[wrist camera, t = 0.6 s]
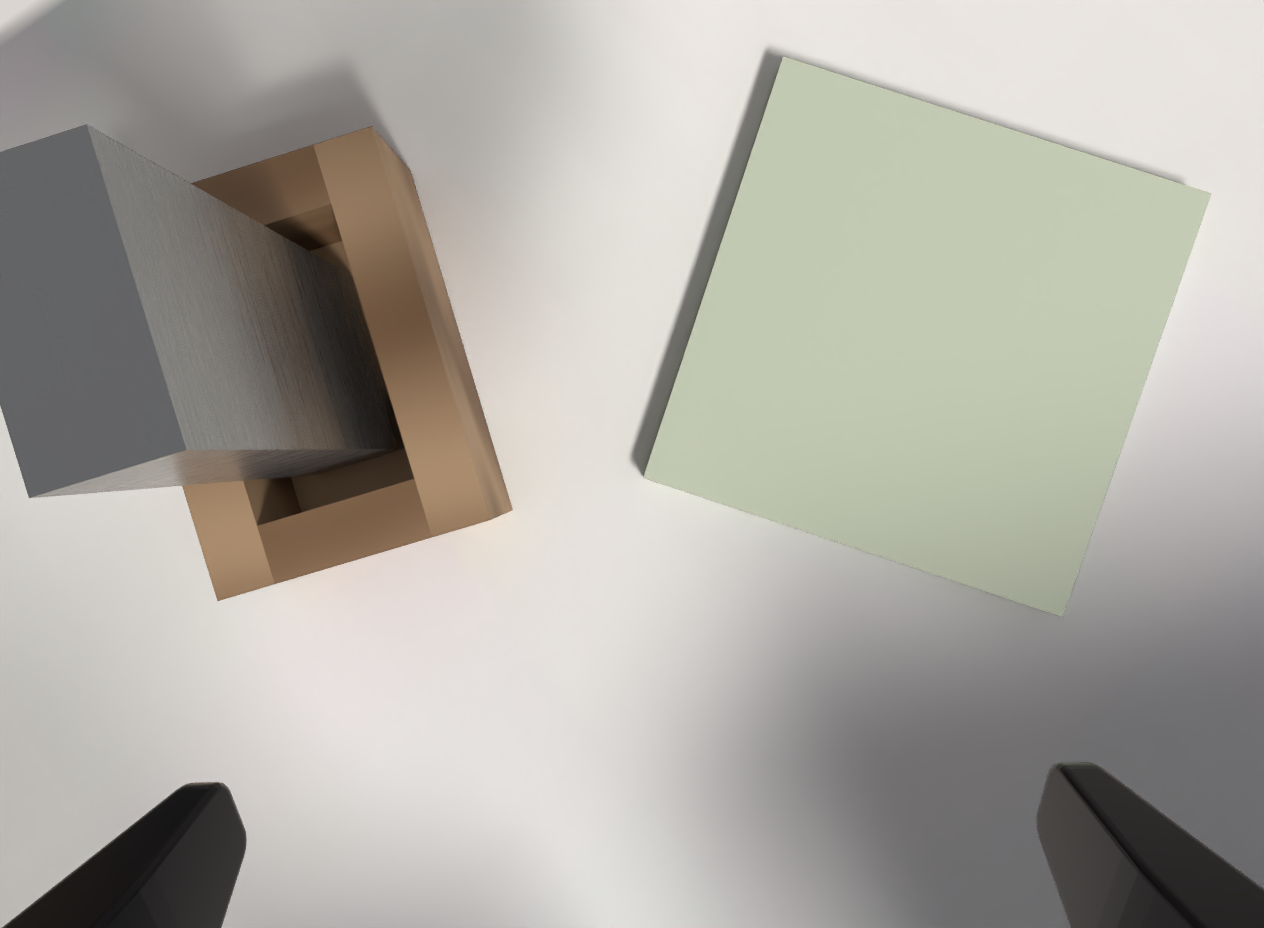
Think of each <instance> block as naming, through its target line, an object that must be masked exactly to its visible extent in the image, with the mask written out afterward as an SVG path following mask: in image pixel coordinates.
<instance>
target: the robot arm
mask: <svg viewBox="0 0 1264 928" xmlns="http://www.w3.org/2000/svg"><path fill="white" fill-rule="evenodd" d="M1037 830H1038V834H1039V838H1040V841H1041V844H1042V847H1043V850H1044V853H1045V856H1046V859H1047V861H1048V864H1049V867H1050V870H1051V873H1052V876H1053V879H1054V881H1055V884H1056V887H1057V890H1058V893H1059V896H1060V899H1061V901H1062V904H1063V907H1064V910H1065V913H1066V916H1067V919H1068V921H1069V924H1070V927H1071V928H1264V889H1263V888H1261V887H1260V886H1259V885H1257V884H1256V883H1255V882H1253V881H1252V880H1251V879H1249V878H1248V877H1247V876H1245V875H1244V874H1243V873H1241V872H1240V871H1239V870H1237V869H1236V868H1235V867H1233V866H1232V865H1231V864H1229V863H1228V862H1227V861H1225V860H1224V859H1223V858H1221V857H1220V856H1219V855H1217V854H1216V853H1215V852H1213V851H1212V850H1211V849H1209V848H1208V847H1207V846H1205V845H1204V844H1203V843H1201V842H1200V841H1199V840H1197V839H1196V838H1195V837H1193V836H1192V835H1191V834H1189V833H1188V832H1187V831H1185V830H1184V829H1183V828H1181V827H1180V826H1179V825H1177V824H1176V823H1175V822H1173V821H1172V820H1171V819H1169V818H1168V817H1167V816H1165V815H1164V814H1163V813H1161V812H1160V811H1159V810H1157V809H1156V808H1155V807H1153V806H1152V805H1151V804H1149V803H1148V802H1147V801H1145V800H1144V799H1143V798H1141V797H1140V796H1139V795H1137V794H1136V793H1135V792H1133V791H1132V790H1131V789H1129V788H1128V787H1127V786H1125V785H1124V784H1123V783H1121V782H1120V781H1119V780H1117V779H1116V778H1115V777H1113V776H1112V775H1111V774H1109V773H1108V772H1107V771H1105V770H1104V769H1102V768H1101V767H1099V766H1097V765H1095V764H1093V763H1089V762H1071V763H1056V764H1054V765H1053V766H1052V767H1051V768H1050V770H1049V772H1048V776H1047V779H1046V783H1045V787H1044V790H1043V794H1042V797H1041V801H1040V805H1039V808H1038V812H1037ZM245 850H246V831H245V828H244V825H243V823H242V820H241V818H240V815H239V813H238V810H237V807H236V805H235V802H234V800H233V797H232V795H231V792H230V790H229V788H228V787H227V786H226V785H224V784H223V783H219V782H207V783H189V784H186V785H184V786H182V787H180V788H179V789H177V790H176V791H175V792H173V793H172V794H171V795H170V796H168V797H167V798H166V799H164V800H163V801H162V802H161V803H159V804H158V805H157V806H156V807H154V808H153V809H152V810H151V811H149V812H148V813H147V814H145V815H144V816H143V817H142V818H140V819H139V820H138V821H137V822H135V823H134V824H133V825H132V826H130V827H129V828H128V829H126V830H125V831H124V832H123V833H121V834H120V835H119V836H118V837H116V838H115V839H114V840H113V841H111V842H110V843H109V844H107V845H106V846H105V847H104V848H102V849H101V850H100V851H99V852H97V853H96V854H95V855H93V856H92V857H91V858H90V859H88V860H87V861H86V862H85V863H83V864H82V865H81V866H80V867H78V868H77V869H76V870H74V871H73V872H72V873H71V874H69V875H68V876H67V877H66V878H64V879H63V880H62V881H61V882H59V883H58V884H57V885H55V886H54V887H53V888H52V889H50V890H49V891H48V892H47V893H45V894H44V895H43V896H42V897H40V898H39V899H38V900H36V901H35V902H34V903H33V904H31V905H30V906H29V907H28V908H26V909H25V910H24V911H23V912H21V913H20V914H19V915H17V916H16V917H15V918H14V919H12V920H11V921H10V922H9V923H7V924H6V925H5V926H3V927H2V928H221V927H222V924H223V921H224V918H225V915H226V911H227V908H228V905H229V902H230V899H231V896H232V893H233V889H234V886H235V883H236V880H237V877H238V874H239V871H240V867H241V864H242V861H243V858H244V854H245Z"/></svg>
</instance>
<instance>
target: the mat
mask: <svg viewBox="0 0 1264 928" xmlns="http://www.w3.org/2000/svg"><path fill="white" fill-rule="evenodd" d="M1210 196H1211V193H1208V192H1205V191H1202V190H1199V189H1196V188H1193V187H1190V186H1186V185H1183V184H1180V183H1177V182H1174V181H1171V180H1168V179H1165V178H1162V177H1158V176H1155V175H1152V174H1149V173H1146V172H1143V171H1140V170H1137V169H1133V168H1130V167H1127V166H1124V165H1121V164H1118V163H1115V162H1112V161H1108V160H1105V159H1102V158H1099V157H1096V156H1093V155H1090V154H1087V153H1084V152H1080V151H1077V150H1074V149H1071V148H1068V147H1065V146H1062V145H1059V144H1055V143H1052V142H1049V141H1046V140H1043V139H1040V138H1037V137H1034V136H1030V135H1027V134H1024V133H1021V132H1018V131H1015V130H1012V129H1009V128H1006V127H1002V126H999V125H996V124H993V123H990V122H987V121H984V120H981V119H977V118H974V117H971V116H968V115H965V114H962V113H959V112H956V111H952V110H949V109H946V108H943V107H940V106H937V105H934V104H931V103H928V102H924V101H921V100H918V99H915V98H912V97H909V96H906V95H903V94H899V93H896V92H893V91H890V90H887V89H884V88H881V87H878V86H875V85H871V84H868V83H865V82H862V81H859V80H856V79H853V78H850V77H846V76H843V75H840V74H837V73H834V72H831V71H828V70H825V69H821V68H818V67H815V66H812V65H809V64H806V63H803V62H800V61H797V60H793V59H790V58H787V57H784V56H783V58H782V61H781V64H780V67H779V70H778V73H777V77H776V80H775V83H774V86H773V89H772V92H771V95H770V98H769V101H768V104H767V107H766V110H765V113H764V116H763V119H762V122H761V125H760V128H759V131H758V134H757V137H756V140H755V143H754V146H753V149H752V152H751V155H750V158H749V161H748V164H747V167H746V170H745V173H744V176H743V179H742V182H741V185H740V188H739V191H738V194H737V197H736V200H735V203H734V206H733V209H732V212H731V215H730V218H729V221H728V224H727V227H726V230H725V233H724V236H723V239H722V242H721V245H720V248H719V251H718V254H717V257H716V260H715V263H714V266H713V269H712V272H711V275H710V278H709V281H708V284H707V287H706V290H705V293H704V296H703V299H702V302H701V305H700V308H699V311H698V314H697V317H696V320H695V323H694V326H693V329H692V332H691V335H690V338H689V341H688V344H687V347H686V350H685V353H684V356H683V359H682V362H681V365H680V368H679V371H678V374H677V377H676V380H675V383H674V386H673V389H672V392H671V395H670V398H669V401H668V404H667V407H666V410H665V413H664V416H663V419H662V422H661V425H660V428H659V431H658V434H657V437H656V440H655V443H654V446H653V449H652V453H651V456H650V459H649V462H648V465H647V468H646V471H645V474H644V477H643V478H645V479H648V480H651V481H654V482H657V483H660V484H663V485H666V486H669V487H672V488H675V489H678V490H681V491H684V492H687V493H690V494H693V495H696V496H699V497H702V498H705V499H708V500H711V501H714V502H717V503H720V504H723V505H726V506H729V507H732V508H735V509H738V510H741V511H744V512H747V513H750V514H753V515H756V516H759V517H762V518H765V519H768V520H771V521H774V522H777V523H780V524H783V525H786V526H789V527H792V528H795V529H798V530H801V531H804V532H807V533H810V534H813V535H816V536H819V537H822V538H825V539H828V540H831V541H834V542H837V543H840V544H843V545H846V546H849V547H852V548H855V549H858V550H861V551H865V552H868V553H871V554H874V555H877V556H880V557H883V558H886V559H889V560H892V561H895V562H898V563H901V564H904V565H907V566H910V567H913V568H916V569H919V570H922V571H925V572H928V573H931V574H934V575H937V576H940V577H943V578H946V579H949V580H952V581H955V582H958V583H961V584H964V585H967V586H970V587H973V588H976V589H979V590H982V591H985V592H988V593H991V594H994V595H997V596H1000V597H1003V598H1006V599H1009V600H1012V601H1015V602H1018V603H1021V604H1024V605H1027V606H1030V607H1033V608H1036V609H1039V610H1042V611H1045V612H1048V613H1051V614H1054V615H1057V616H1060V617H1063V615H1064V612H1065V609H1066V606H1067V603H1068V601H1069V598H1070V595H1071V592H1072V589H1073V586H1074V584H1075V581H1076V578H1077V575H1078V572H1079V569H1080V566H1081V564H1082V561H1083V558H1084V555H1085V552H1086V549H1087V547H1088V544H1089V541H1090V538H1091V535H1092V532H1093V529H1094V527H1095V524H1096V521H1097V518H1098V515H1099V512H1100V510H1101V507H1102V504H1103V501H1104V498H1105V495H1106V492H1107V490H1108V487H1109V484H1110V481H1111V478H1112V475H1113V472H1114V470H1115V467H1116V464H1117V461H1118V458H1119V455H1120V453H1121V450H1122V447H1123V444H1124V441H1125V438H1126V435H1127V433H1128V430H1129V427H1130V424H1131V421H1132V418H1133V416H1134V413H1135V410H1136V407H1137V404H1138V401H1139V398H1140V396H1141V393H1142V390H1143V387H1144V384H1145V381H1146V379H1147V376H1148V373H1149V370H1150V367H1151V364H1152V361H1153V359H1154V356H1155V353H1156V350H1157V347H1158V344H1159V341H1160V339H1161V336H1162V333H1163V330H1164V327H1165V324H1166V322H1167V319H1168V316H1169V313H1170V310H1171V307H1172V304H1173V302H1174V299H1175V296H1176V293H1177V290H1178V287H1179V285H1180V282H1181V279H1182V276H1183V273H1184V270H1185V267H1186V265H1187V262H1188V259H1189V256H1190V253H1191V250H1192V248H1193V245H1194V242H1195V239H1196V236H1197V233H1198V230H1199V228H1200V225H1201V222H1202V219H1203V216H1204V213H1205V210H1206V208H1207V205H1208V202H1209V199H1210Z"/></svg>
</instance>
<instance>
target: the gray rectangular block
mask: <svg viewBox="0 0 1264 928" xmlns="http://www.w3.org/2000/svg"><path fill="white" fill-rule="evenodd" d="M0 405H1V409H2V412H3V415H4V418H5V422H6V425H7V428H8V431H9V435H10V438H11V441H12V444H13V447H14V451H15V454H16V457H17V460H18V464H19V467H20V470H21V473H22V477H23V480H24V483H25V486H26V489H27V493H28V496H29V498H36V497H48V496H60V495H73V494H85V493H97V492H110V491H122V490H134V489H147V488H159V487H171V486H183V485H196V484H208V483H220V482H233V481H245V480H257V479H270V478H282V477H294V476H307V475H319V474H323V473H326V472H329V471H333V470H336V469H339V468H343V467H346V466H349V465H352V464H356V463H359V462H362V461H366V460H369V459H372V458H376V457H379V456H382V455H386V454H389V453H392V452H396V451H399V450H402V449H404V445H403V442H402V439H401V435H400V432H399V429H398V425H397V422H396V419H395V415H394V412H393V409H392V406H391V402H390V399H389V396H388V392H387V389H386V386H385V382H384V379H383V376H382V373H381V369H380V366H379V363H378V359H377V356H376V353H375V349H374V346H373V343H372V340H371V336H370V333H369V330H368V326H367V323H366V320H365V316H364V313H363V310H362V306H361V303H360V300H359V297H358V293H357V290H356V287H355V283H354V280H353V277H352V275H350V274H348V273H346V272H345V271H343V270H341V269H339V268H338V267H336V266H334V265H332V264H331V263H329V262H327V261H325V260H324V259H322V258H320V257H318V256H317V255H315V254H313V253H311V252H310V251H308V250H306V249H304V248H303V247H301V246H299V245H297V244H296V243H294V242H292V241H290V240H289V239H287V238H285V237H283V236H282V235H280V234H278V233H276V232H275V231H273V230H271V229H269V228H268V227H266V226H264V225H262V224H261V223H259V222H257V221H255V220H254V219H252V218H250V217H248V216H246V215H245V214H243V213H241V212H239V211H238V210H236V209H234V208H232V207H231V206H229V205H227V204H225V203H224V202H222V201H220V200H218V199H217V198H215V197H213V196H211V195H210V194H208V193H206V192H204V191H203V190H201V189H199V188H197V187H196V186H194V185H192V184H190V183H189V182H187V181H185V180H183V179H182V178H180V177H178V176H176V175H175V174H173V173H171V172H169V171H168V170H166V169H164V168H162V167H161V166H159V165H157V164H155V163H154V162H152V161H150V160H148V159H147V158H145V157H143V156H141V155H140V154H138V153H136V152H134V151H133V150H131V149H129V148H127V147H126V146H124V145H122V144H120V143H118V142H117V141H115V140H113V139H111V138H110V137H108V136H106V135H104V134H103V133H101V132H99V131H97V130H96V129H94V128H92V127H90V126H89V125H84V126H80V127H77V128H74V129H71V130H68V131H65V132H62V133H59V134H56V135H52V136H49V137H46V138H43V139H40V140H37V141H34V142H31V143H27V144H24V145H21V146H18V147H15V148H12V149H9V150H6V151H3V152H0Z"/></svg>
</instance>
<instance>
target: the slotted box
mask: <svg viewBox="0 0 1264 928" xmlns="http://www.w3.org/2000/svg"><path fill="white" fill-rule="evenodd" d="M191 184H192V185H194V186H196V187H197V188H199V189H201V190H203V191H204V192H206V193H208V194H210V195H211V196H213V197H215V198H217V199H218V200H220V201H222V202H224V203H225V204H227V205H229V206H231V207H232V208H234V209H236V210H238V211H239V212H241V213H243V214H245V215H246V216H248V217H250V218H252V219H254V220H255V221H257V222H259V223H261V224H262V225H264V226H266V227H268V228H269V229H271V230H273V231H275V232H276V233H278V234H280V235H282V236H283V237H285V238H287V239H289V240H290V241H292V242H294V243H296V244H297V245H299V246H301V247H303V248H304V249H306V250H308V251H310V252H311V253H313V254H315V255H317V256H318V257H320V258H322V259H324V260H325V261H327V262H329V263H331V264H332V265H334V266H336V267H338V268H339V269H341V270H343V271H345V272H346V273H348V274H350V275H352V277H353V280H354V283H355V287H356V290H357V293H358V297H359V300H360V303H361V306H362V310H363V313H364V316H365V320H366V323H367V326H368V330H369V333H370V336H371V340H372V343H373V346H374V349H375V353H376V356H377V359H378V363H379V366H380V369H381V373H382V376H383V379H384V382H385V386H386V389H387V392H388V396H389V399H390V402H391V406H392V409H393V412H394V415H395V419H396V422H397V425H398V429H399V432H400V435H401V439H402V442H403V445H404V449H402V450H399V451H396V452H392V453H389V454H386V455H382V456H379V457H376V458H372V459H369V460H366V461H362V462H359V463H356V464H352V465H349V466H346V467H343V468H339V469H336V470H333V471H329V472H326V473H323V474H319V475H307V476H294V477H282V478H270V479H257V480H245V481H233V482H220V483H208V484H196V485H183V486H182V487H183V490H184V493H185V496H186V500H187V503H188V506H189V509H190V513H191V516H192V519H193V522H194V526H195V529H196V532H197V535H198V539H199V542H200V545H201V548H202V552H203V555H204V558H205V561H206V565H207V568H208V571H209V575H210V578H211V581H212V584H213V588H214V591H215V594H216V597H217V601H220V600H223V599H226V598H230V597H233V596H236V595H240V594H243V593H247V592H250V591H253V590H257V589H260V588H263V587H267V586H270V585H273V584H277V583H280V582H283V581H287V580H290V579H294V578H297V577H300V576H304V575H307V574H310V573H314V572H317V571H320V570H324V569H327V568H330V567H334V566H337V565H341V564H344V563H347V562H351V561H354V560H357V559H361V558H364V557H367V556H371V555H374V554H377V553H381V552H384V551H388V550H391V549H394V548H398V547H401V546H404V545H408V544H411V543H414V542H418V541H421V540H425V539H428V538H431V537H435V536H438V535H441V534H445V533H448V532H451V531H455V530H458V529H461V528H465V527H468V526H472V525H475V524H478V523H482V522H485V521H488V520H491V519H493V518H496V517H498V516H500V515H502V514H505V513H507V512H509V511H511V510H513V509H512V506H511V503H510V499H509V496H508V493H507V489H506V486H505V483H504V480H503V476H502V473H501V470H500V466H499V463H498V460H497V456H496V453H495V450H494V446H493V443H492V440H491V436H490V433H489V430H488V426H487V423H486V420H485V416H484V413H483V410H482V406H481V403H480V400H479V397H478V393H477V390H476V387H475V383H474V380H473V377H472V373H471V370H470V367H469V363H468V360H467V357H466V353H465V350H464V347H463V343H462V340H461V337H460V333H459V330H458V327H457V323H456V320H455V317H454V313H453V310H452V307H451V304H450V300H449V297H448V294H447V290H446V287H445V284H444V280H443V277H442V274H441V270H440V267H439V264H438V260H437V257H436V254H435V250H434V247H433V244H432V240H431V237H430V234H429V230H428V227H427V224H426V221H425V217H424V214H423V211H422V207H421V204H420V201H419V197H418V194H417V191H416V187H415V184H414V181H413V177H412V174H411V171H410V170H409V168H408V167H407V166H406V165H405V164H404V163H403V162H402V160H401V159H400V158H399V157H398V156H397V155H396V154H395V152H394V151H393V150H392V149H391V148H390V147H389V146H388V144H387V143H386V142H385V141H384V140H383V139H382V138H381V136H380V135H379V134H378V133H377V132H376V131H375V130H374V128H373V127H372V126H371V127H368V128H365V129H361V130H358V131H355V132H352V133H349V134H346V135H343V136H339V137H336V138H333V139H330V140H327V141H324V142H320V143H317V144H314V145H311V146H308V147H305V148H302V149H298V150H295V151H292V152H289V153H286V154H283V155H279V156H276V157H273V158H270V159H267V160H264V161H260V162H257V163H254V164H251V165H248V166H245V167H242V168H238V169H235V170H232V171H229V172H226V173H223V174H219V175H216V176H213V177H210V178H207V179H204V180H201V181H197V182H194V183H191Z"/></svg>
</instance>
